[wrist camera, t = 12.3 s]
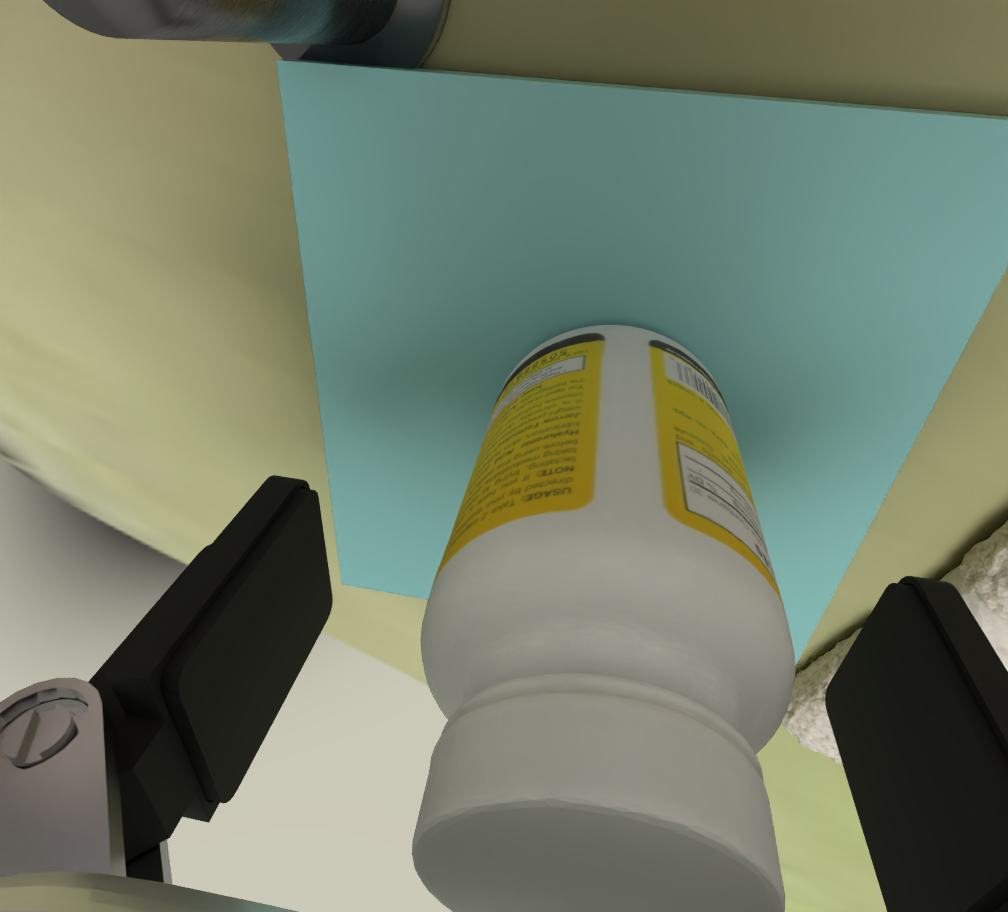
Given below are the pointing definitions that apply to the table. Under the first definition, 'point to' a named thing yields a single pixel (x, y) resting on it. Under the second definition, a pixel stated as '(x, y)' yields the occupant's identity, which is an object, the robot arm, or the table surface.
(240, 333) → the table surface
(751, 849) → the supplement bottle
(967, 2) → the table surface
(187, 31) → the spacer field
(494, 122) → the teal pad
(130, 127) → the table surface
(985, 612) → the washcloth
